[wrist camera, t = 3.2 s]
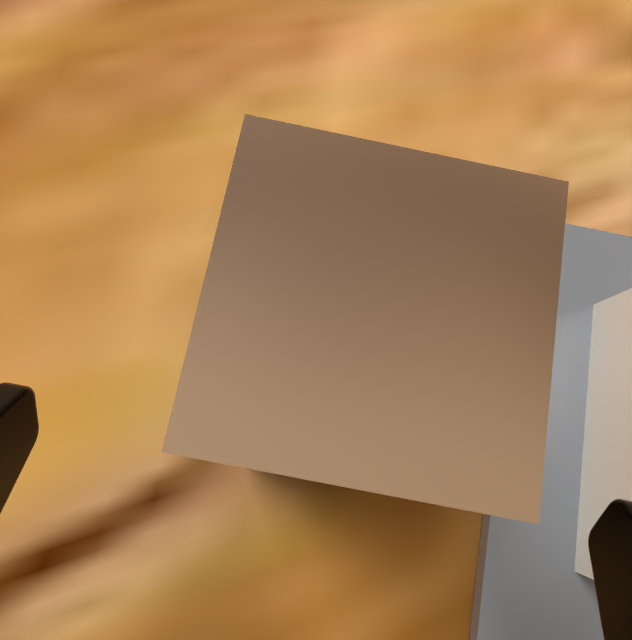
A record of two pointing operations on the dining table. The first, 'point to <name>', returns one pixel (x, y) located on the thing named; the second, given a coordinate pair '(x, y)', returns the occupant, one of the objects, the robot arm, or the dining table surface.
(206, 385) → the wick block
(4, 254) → the dining table surface
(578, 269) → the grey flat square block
